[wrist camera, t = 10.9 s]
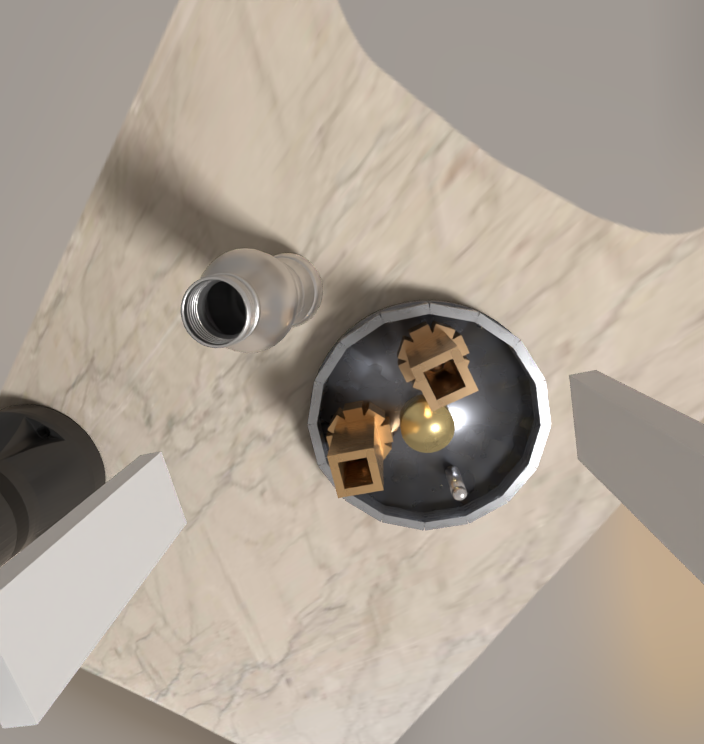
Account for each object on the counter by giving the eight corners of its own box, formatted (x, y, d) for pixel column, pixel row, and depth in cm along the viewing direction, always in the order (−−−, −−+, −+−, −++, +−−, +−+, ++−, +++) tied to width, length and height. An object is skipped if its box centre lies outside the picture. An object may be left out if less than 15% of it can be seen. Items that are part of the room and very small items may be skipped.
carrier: (339, 528, 47) (333, 565, 41) (287, 327, 42) (272, 338, 36) (551, 495, 44) (577, 529, 39) (525, 276, 39) (549, 278, 33)
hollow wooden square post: (338, 463, 44) (327, 513, 35) (323, 407, 42) (308, 445, 34) (396, 452, 43) (401, 500, 34) (384, 395, 42) (385, 430, 33)
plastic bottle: (250, 306, 41) (136, 346, 22) (275, 241, 40) (176, 221, 20) (309, 334, 42) (249, 397, 22) (337, 270, 40) (297, 278, 21)
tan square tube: (415, 395, 41) (424, 431, 33) (387, 340, 40) (388, 361, 32) (474, 368, 40) (500, 397, 32) (447, 310, 39) (466, 323, 30)
